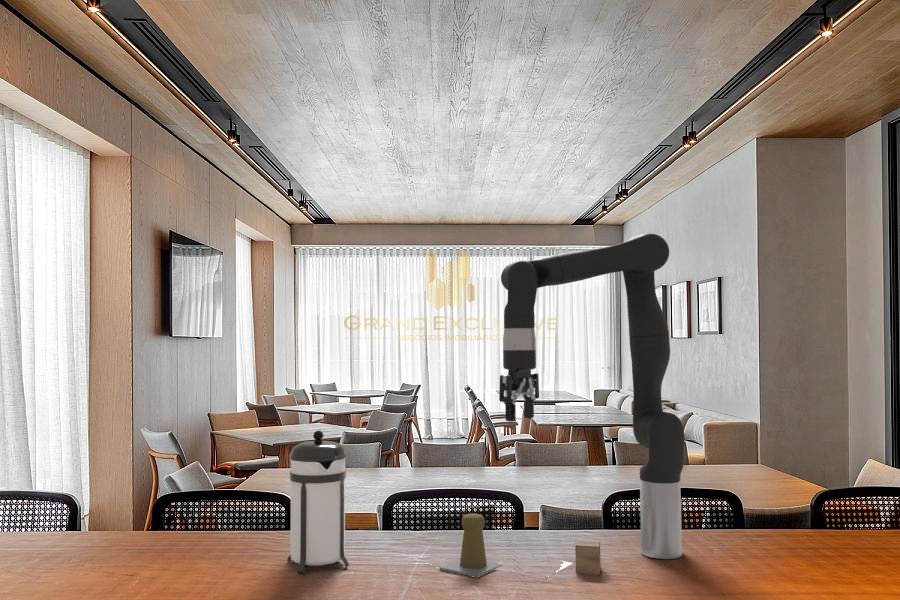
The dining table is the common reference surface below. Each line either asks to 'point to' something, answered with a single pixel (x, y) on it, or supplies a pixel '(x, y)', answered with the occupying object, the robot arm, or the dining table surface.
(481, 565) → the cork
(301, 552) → the coffee press
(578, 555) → the walnut block
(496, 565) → the slate coaster
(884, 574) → the dining table surface
